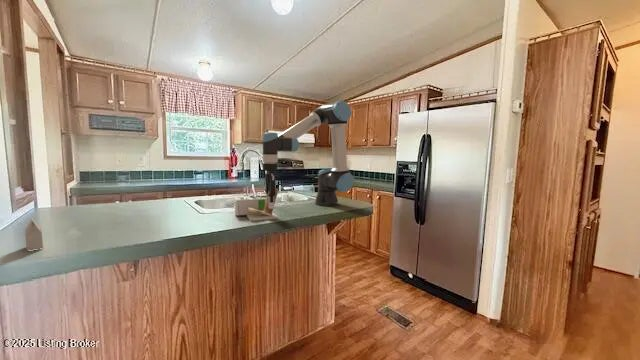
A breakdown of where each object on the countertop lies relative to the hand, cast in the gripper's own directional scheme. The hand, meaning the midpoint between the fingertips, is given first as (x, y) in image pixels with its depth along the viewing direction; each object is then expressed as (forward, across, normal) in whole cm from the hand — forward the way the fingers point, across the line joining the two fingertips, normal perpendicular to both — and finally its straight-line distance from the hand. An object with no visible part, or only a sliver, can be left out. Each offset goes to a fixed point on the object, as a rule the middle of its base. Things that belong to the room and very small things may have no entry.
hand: (269, 207), depth 143 cm
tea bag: (+5, +17, -86) cm, 87 cm away
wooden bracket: (+2, 0, -6) cm, 6 cm away
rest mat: (+5, 0, -4) cm, 7 cm away
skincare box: (+1, -8, -1) cm, 9 cm away
